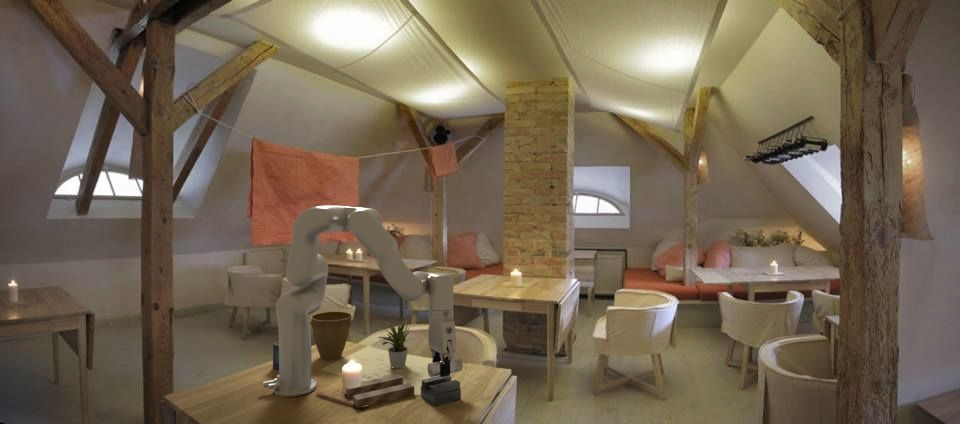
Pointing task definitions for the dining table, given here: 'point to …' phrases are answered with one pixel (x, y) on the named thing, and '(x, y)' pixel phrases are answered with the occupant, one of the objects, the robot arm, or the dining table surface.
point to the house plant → (397, 346)
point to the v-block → (440, 390)
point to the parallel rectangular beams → (380, 391)
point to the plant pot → (331, 333)
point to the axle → (435, 367)
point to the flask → (276, 356)
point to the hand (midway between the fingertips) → (441, 372)
